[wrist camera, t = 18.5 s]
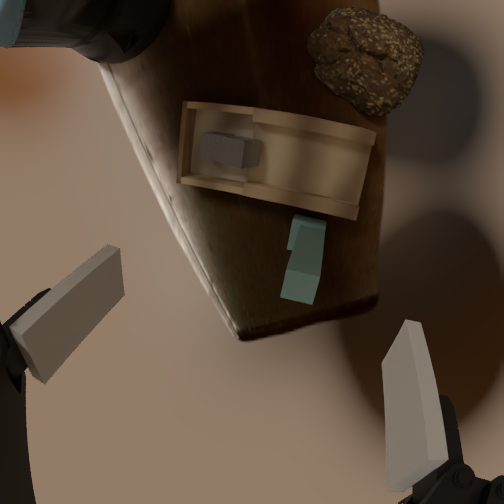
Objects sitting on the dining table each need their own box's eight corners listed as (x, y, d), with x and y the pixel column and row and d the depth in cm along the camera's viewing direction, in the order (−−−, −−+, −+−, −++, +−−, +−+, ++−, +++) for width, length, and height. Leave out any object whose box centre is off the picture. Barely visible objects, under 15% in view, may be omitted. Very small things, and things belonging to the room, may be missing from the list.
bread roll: (433, 50, 25) (447, 42, 21) (384, 129, 32) (392, 132, 27) (338, -8, 25) (338, -24, 21) (289, 70, 31) (282, 64, 27)
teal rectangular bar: (326, 221, 38) (321, 272, 26) (319, 249, 40) (310, 309, 28) (294, 213, 38) (276, 261, 27) (289, 242, 40) (268, 298, 29)
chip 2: (237, 160, 36) (220, 162, 34) (240, 135, 35) (223, 136, 32) (258, 166, 34) (240, 168, 32) (261, 140, 33) (244, 140, 31)
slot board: (372, 130, 32) (376, 132, 29) (354, 211, 36) (356, 220, 33) (194, 101, 35) (181, 101, 32) (187, 177, 40) (175, 183, 37)
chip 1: (232, 157, 37) (209, 154, 37) (234, 133, 35) (211, 130, 36) (223, 162, 34) (199, 158, 35) (226, 135, 33) (201, 133, 33)
